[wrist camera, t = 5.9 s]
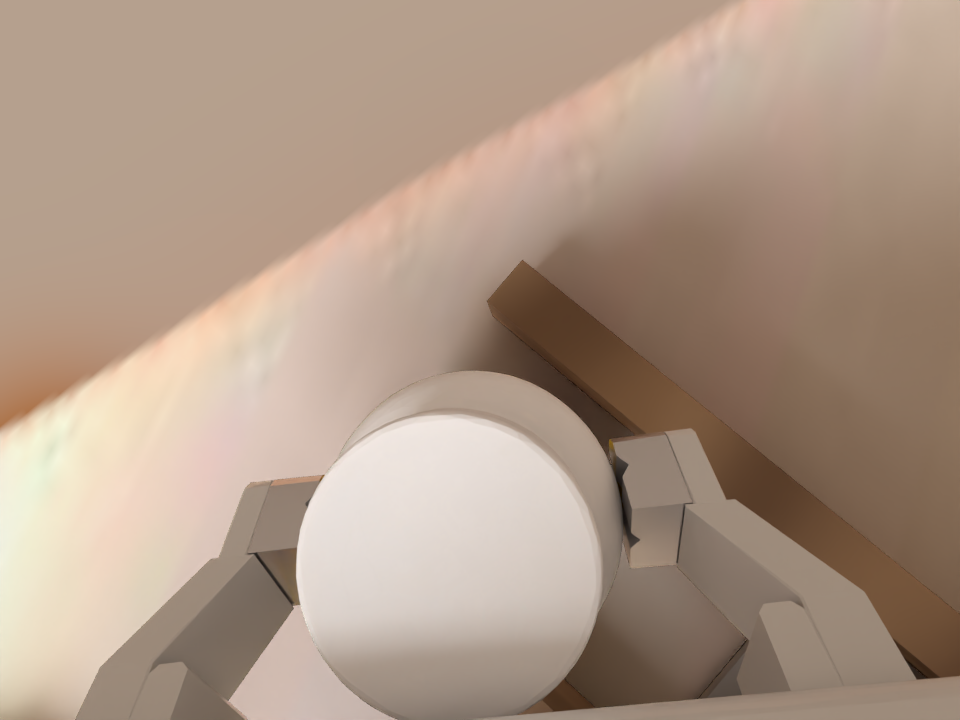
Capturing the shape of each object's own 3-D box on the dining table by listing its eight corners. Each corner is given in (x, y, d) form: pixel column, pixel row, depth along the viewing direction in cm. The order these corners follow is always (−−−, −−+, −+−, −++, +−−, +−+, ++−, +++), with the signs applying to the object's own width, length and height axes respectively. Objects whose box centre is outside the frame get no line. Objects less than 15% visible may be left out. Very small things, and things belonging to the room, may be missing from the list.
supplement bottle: (370, 460, 17) (160, 525, 7) (507, 348, 17) (478, 264, 7) (481, 605, 16) (411, 889, 7) (624, 490, 16) (764, 605, 7)
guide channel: (1060, 719, 15) (1214, 809, 12) (829, 996, 15) (917, 1168, 12) (523, 280, 18) (521, 249, 14) (320, 518, 18) (269, 546, 14)
